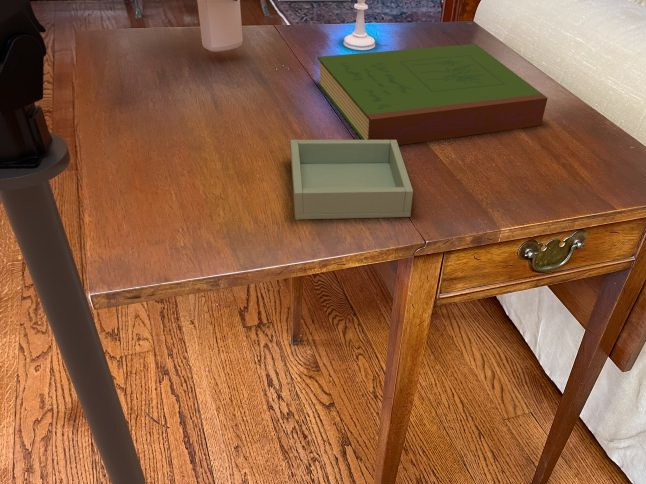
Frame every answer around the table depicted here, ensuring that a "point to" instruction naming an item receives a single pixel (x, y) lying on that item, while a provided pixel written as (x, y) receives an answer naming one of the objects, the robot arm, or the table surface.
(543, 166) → the table surface
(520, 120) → the hardcover book
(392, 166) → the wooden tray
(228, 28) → the eye dropper bottle
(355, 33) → the chess piece
